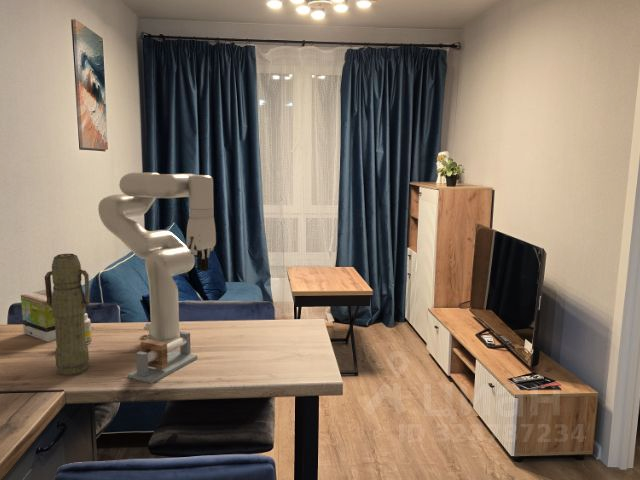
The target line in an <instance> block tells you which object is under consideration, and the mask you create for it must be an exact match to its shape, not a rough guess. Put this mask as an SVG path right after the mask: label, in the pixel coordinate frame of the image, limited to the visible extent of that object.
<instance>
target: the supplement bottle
mask: <svg viewBox="0 0 640 480" xmlns="http://www.w3.org/2000/svg"><path fill="white" fill-rule="evenodd" d="M84 321H85V338H86V344H87V345H89V344H91V343H92V324H91V319H90V318H89V317H88V313H87V312H85V314H84Z"/></svg>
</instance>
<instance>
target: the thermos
mask: <svg viewBox="0 0 640 480" xmlns="http://www.w3.org/2000/svg"><path fill="white" fill-rule="evenodd" d="M51 276H52V278H51ZM82 276H84V289H85V290H84V289H83V285H82ZM51 279H52V280H51ZM44 284H45V285H44V287H45V290H46V296H47V304H48V305H49V306H50V307H51V308H52V313H53V317H54V318H55V330H56V340H55V341H56V343H55V344H56V349H55V352H54V358H55V366H56V374H57V375H58V376H61V377H72V376H73V377H74V376H78V375H82V374H84V373H86V372H87V371H89V368H90V366H89V362H90V361H89V359H90V358H89V357H90V356H89V355H90V354H89V347H88V344H86V338H85V321H84V314H85V313H87V311H86V310H87V309H86V306H89V305H90V301H91V300H90V299H91V297H90V296H91V295H90V278H89V273H88V272H87V271H86V270H85V269H84V270H83V269H82V266H81V261H80V260H79V258H78V255H76V254H75V253H60V254H56V256H54V257H53V260H52V262H51V271H48V272H47V273H46V274H45V275H44ZM52 284H53V287H52ZM52 291H53V294H52ZM84 291H85V292H84Z"/></svg>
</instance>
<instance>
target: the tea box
mask: <svg viewBox="0 0 640 480" xmlns="http://www.w3.org/2000/svg"><path fill="white" fill-rule="evenodd" d="M51 291H52V294H53V290H51ZM20 303H21V315H22V324H23V334H24V335H29V336H31V337H34V338H37V339H39V340H42V341H44V342H47V343H49V342H52V341H56V330H55V318H54V317H53V313H52V308H51V307H50V306H49V305H48V304H47V296H46V289H43V290H38V291H34V292H29V293H24V294H20Z"/></svg>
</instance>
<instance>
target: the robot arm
mask: <svg viewBox="0 0 640 480" xmlns="http://www.w3.org/2000/svg"><path fill="white" fill-rule="evenodd" d="M118 185H119V189H120V191H121V192H122V193H123V194H112V195H108V196H105V197H103V198H102V199H101V200H100V201H99V203H98V208H97V209H98V210H97V211H98V216H99V218H100V220H101V223H102V224H103V226H104V227H105V228H106V229H107V230H108V231H109V232H110V233H111V234H112V235H114V236H115V237H117V238H118V239H119V240H120V241H121V242H122V243H123V244H124V245H125V246H126V247H127V248H128V249H129V250H130V251H131V252H132V253H133V254H134V255H136V257H138V258H140V259H143V260H145V262H144V266H145V271H146V274H147V279H148V281H147V282H148V289H149V293H148V294H149V308H150V309H149V311H150V312H149V313H150V317H149V318H150V323H149V322H147V323H145V326H144V327H143V330H144V331H148V334H147V335H146V339H148V340H153V341H158V342H164V343H167V344H168V343H170V342H172V341H174V340H177V339H179V338H180V333H181V332H183V331H182V330H180V316H179V314H180V313H179V312H180V311H179V307H180V306H179V289H178V285H177V283H176V281H175V280H174V278H173V277H175V276H176V275H181V274H184V273H188V272H190V271H191V270H192V269H193V268H194V266H195V262H196V267H197V269H196V270H197V271H200V272H206V271H207V272H208V271H209V258H210V255H211V254H210V253H211V252H212V251H214V248H215V246H216V245H217V232H216V223H215V217H214V215H215V214H214V210H215V209H214V178H213V176H211V175H207V174H194V173H170V174H169V173H166V174H165V173H158V172H155V171H154V172H129V173H127V174H125V175H123V176H122V177H121V178H120V180H119V184H118ZM175 198H188V203H189V205H188V207H189V211H188V213H189V218H188V219H187V220H188V221H187V225H186V239H185V240H186V241H185V242H186V243H184V242H183V241H181V239H180V238H178V237H177V236H176V235H175V234H174V233H173V232H171V231H169V230H165V229H158V230H147V229H146V228H144V227H143V226H142V225H141V224H140V223H139V222H137V221H135V220H134V219H131V218H133V217H140V216H143V215H145V214H146V213H147V212H148V211H149V209H150V208H151V206H152V205H153V203H154V202H155V201H156V199H175ZM195 260H196V261H195Z"/></svg>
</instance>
